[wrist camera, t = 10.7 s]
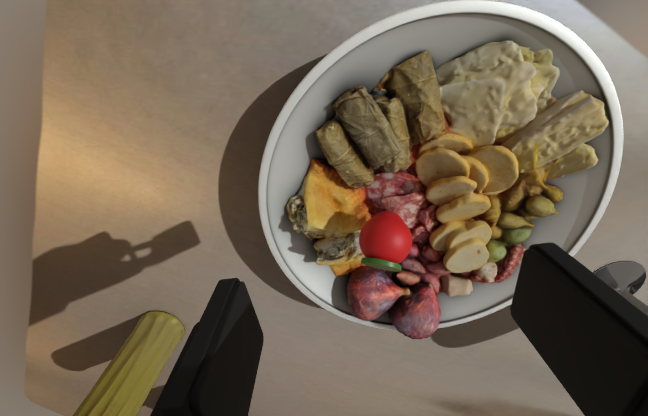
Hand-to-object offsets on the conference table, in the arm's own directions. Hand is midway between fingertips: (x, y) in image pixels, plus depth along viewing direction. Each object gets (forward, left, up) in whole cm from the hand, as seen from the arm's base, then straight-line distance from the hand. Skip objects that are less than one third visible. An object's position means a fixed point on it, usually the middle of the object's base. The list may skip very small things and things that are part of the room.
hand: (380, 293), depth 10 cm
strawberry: (+4, +3, -12) cm, 13 cm away
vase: (+21, -27, -20) cm, 40 cm away
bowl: (+5, +7, -19) cm, 21 cm away
